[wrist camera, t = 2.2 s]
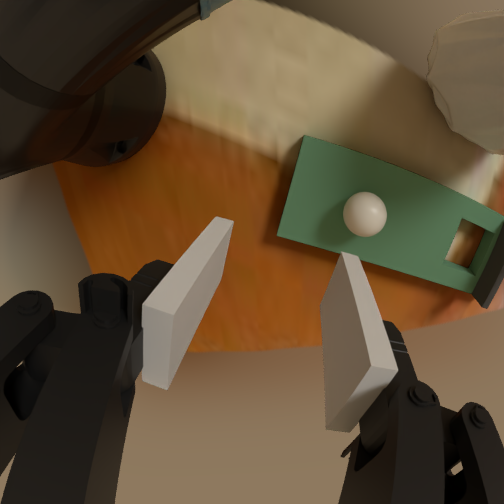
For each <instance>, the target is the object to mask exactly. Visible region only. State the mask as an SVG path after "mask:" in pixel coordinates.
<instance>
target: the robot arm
mask: <svg viewBox="0 0 504 504" xmlns="http://www.w3.org/2000/svg"><path fill="white" fill-rule="evenodd" d="M230 1H232V0H0V179H3V178H6V177H9V176H12V175H15V174H18V173H21V172H24V171H27V170H30V169H33V168H36V167H40V166H43V165H46V164H49V163H53V162H56V161H60V160H64V161H68V162H72V163H77V164H81V165H85V166H90V167H101V166H106V165H110V164H114V163H117V162H121V161H123V160H125V159H127V158H129V157H131V156H133V155H134V154H135V153H137V152H138V151H139V150H140V149H141V148H142V147H143V146H144V145H145V144H146V143H147V142H148V140H149V139H150V138H151V136H152V135H153V133H154V132H155V130H156V128H157V126H158V124H159V122H160V119H161V116H162V113H163V110H164V105H165V98H166V82H165V76H164V72H163V69H162V66H161V64H160V62H159V60H158V58H157V57H156V55H155V54H154V53H153V52H152V51H151V49H153V48H154V47H155V46H157V45H158V44H160V43H161V42H163V41H164V40H166V39H167V38H169V37H170V36H172V35H174V34H175V33H177V32H178V31H180V30H182V29H183V28H185V27H186V26H188V25H190V24H192V23H193V22H195V21H197V20H199V19H200V20H201V21H202V20H204V19H206V18H208V17H209V16H210V13H211V12H213V11H214V10H216V9H218V8H219V7H221V6H223V5H225V4H226V3H228V2H230ZM233 223H234V221H231V220H228V219H224V218H220V217H215V218H214V219H213V220H212V222H211V223H210V224H209V225H208V226H207V227H206V228H205V230H204V231H203V232H202V233H201V234H200V235H199V237H198V238H197V239H196V240H195V241H194V242H193V244H192V245H191V246H190V247H189V248H188V249H187V251H186V252H185V253H184V254H183V255H182V257H181V258H180V259H179V260H178V261H177V263H176V264H175V265H174V264H170V263H167V262H164V261H161V260H155V261H153V262H150V263H148V264H145V265H144V266H143V267H142V268H141V269H140V270H139V271H138V273H137V274H135V275H134V276H133V277H132V278H131V281H130V280H129V281H128V280H126V279H125V278H123V277H121V276H118V275H115V274H108V273H100V274H93V275H90V276H88V277H85V278H84V279H83V280H81V281H80V282H79V283H78V287H79V298H80V307H81V314H76V313H68V312H63V311H57V310H54V307H53V302H52V300H51V298H50V297H49V296H48V295H47V294H45V293H43V292H40V291H25V292H21V293H19V294H17V295H15V296H14V297H12V298H11V299H10V300H9V301H7V302H6V303H5V304H3V305H2V306H1V307H0V476H1V474H2V473H3V471H4V470H5V468H6V467H7V465H8V463H9V462H10V461H11V459H12V458H13V456H14V455H15V453H16V455H15V458H14V460H13V464H12V466H11V470H10V473H9V476H8V479H7V483H6V486H5V490H4V493H3V497H2V501H1V504H115V496H116V490H117V483H118V477H119V470H120V464H121V459H122V453H123V448H124V443H125V437H126V432H127V427H128V422H129V418H130V413H131V408H132V403H133V399H134V395H135V380H136V378H137V377H138V375H139V373H140V372H141V370H142V381H144V382H147V383H149V384H152V385H154V386H157V387H160V388H163V389H165V390H168V388H169V386H170V384H171V382H172V379H173V377H174V375H175V373H176V371H177V369H178V367H179V365H180V363H181V361H182V358H183V356H184V354H185V352H186V350H187V348H188V346H189V344H190V342H191V340H192V338H193V336H194V334H195V331H196V329H197V327H198V325H199V323H200V321H201V319H202V317H203V315H204V313H205V311H206V309H207V307H208V305H209V303H210V301H211V299H212V297H213V295H214V292H215V290H216V288H217V286H218V284H219V282H220V280H221V278H222V273H223V268H224V264H225V259H226V255H227V250H228V246H229V241H230V236H231V232H232V228H233ZM320 314H321V328H322V343H323V361H324V381H325V414H326V415H325V417H326V430H333V431H342V432H351V430H352V429H353V428H354V427H355V426H356V425H357V423H358V422H359V425H360V434H359V435H358V436H357V437H356V438H355V440H353V442H352V443H351V444H350V445H349V446H348V447H347V448H346V449H345V450H344V451H343V453H342V455H341V457H345V456H346V455H347V454H348V453H349V452H350V451H351V453H350V457H349V463H348V467H347V472H346V476H345V480H344V484H343V488H342V492H341V496H340V500H339V503H338V504H504V447H503V444H502V442H501V439H500V436H499V434H498V431H497V430H496V427H495V424H494V422H493V419H492V417H491V416H490V414H489V412H488V411H487V410H486V409H485V408H484V407H483V406H481V405H479V404H477V403H474V402H469V403H466V404H465V405H464V406H463V407H462V408H461V409H460V411H459V412H455V411H452V410H450V409H447V408H445V407H442V406H440V402H439V399H438V396H437V395H436V393H435V392H434V391H433V389H431V388H430V387H429V386H428V385H427V384H425V383H423V382H421V381H418V380H417V377H416V374H415V371H414V368H413V365H412V362H411V359H410V357H409V354H408V353H407V348H406V346H405V345H404V340H403V338H402V335H401V333H400V331H399V330H398V329H397V328H396V326H395V325H394V324H393V323H392V322H389V321H385V320H382V318H381V315H380V313H379V310H378V307H377V304H376V301H375V299H374V296H373V293H372V291H371V288H370V285H369V283H368V280H367V277H366V275H365V272H364V270H363V267H362V265H361V262H360V260H359V257H358V256H356V255H352V254H349V253H345V252H342V251H341V254H340V256H339V259H338V261H337V264H336V267H335V269H334V272H333V274H332V277H331V279H330V282H329V284H328V287H327V289H326V292H325V294H324V297H323V299H322V302H321V304H320ZM22 361H23V363H22V364H21V365H20V366H18V365H19V364H20V363H21V362H22ZM17 366H18V367H17ZM459 462H461V463H462V466H463V470H461V471H460V472H459V473H457V474H456V475H453V474H452V472H451V469H452V468H453V467H454V466H455V465H457V464H458V463H459Z"/></svg>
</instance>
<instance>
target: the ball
mask: <svg viewBox="0 0 504 504" xmlns="http://www.w3.org/2000/svg"><path fill="white" fill-rule="evenodd" d="M343 218H344V222H345V224H346V226H347V227H348V229H349V230H350V231H351V232H352V233H354V234H356V235H358V236H361V237H370V236H373V235H375V234H377V233H378V232H380V231H381V230H382V228H383V227H384V225H385V223H386V219H387V211H386V207H385V205H384V203H383V201H382V200H381V199H380V198H379V197H378V196H376V195H375V194H373V193H370V192H359V193H356V194H354V195H353V196H351V197H350V198H349V199H348V200H347V202H346V204H345V206H344V210H343Z"/></svg>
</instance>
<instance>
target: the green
mask: <svg viewBox="0 0 504 504" xmlns="http://www.w3.org/2000/svg"><path fill="white" fill-rule="evenodd" d="M359 192H370V193H373V194H375V195H376V196H378V197H379V198H380V199H381V200H382V201H383V203H384V205H385V207H386V211H387V219H386V223H385V225H384V227H383V228H382V230H381V231H380V232H378V233H377V234H375V235H373V236H370V237H361V236H358V235H356V234H354V233H352V232H351V231H350V230H349V229H348V227H347V226H346V224H345V222H344V218H343V210H344V206H345V204H346V202H347V200H348V199H349V198H350V197H351V196H353V195H354V194H356V193H359ZM462 218H463V219H465V220H468V221H470V222H472V223H474V224H476V225H478V226H480V227H482V228H485V229H486V230H485V232H484V235H483V237H482V240H481V242H480V244H479V247H478V249H477V251H476V253H475V256H474V258H473V260H472V262H471V264H470V266H469V269H468V268H466V267H463V266H460V265H458V264H455V263H452V262H449V261H447V260H444V259H445V257H446V255H447V253H448V251H449V248H450V246H451V244H452V241H453V239H454V237H455V234H456V232H457V229H458V227H459V224H460V222H461V219H462ZM277 236H280V237H283V238H287V239H290V240H294V241H297V242H301V243H304V244H308V245H311V246H315V247H318V248H322V249H325V250H329V251H332V252H336V253H339V254H341V251H342V252H345V253H349V254H352V255H356V256H358V257H359V259H360V260H363V261H366V262H370V263H373V264H377V265H380V266H383V267H387V268H390V269H393V270H397V271H400V272H403V273H406V274H410V275H413V276H416V277H419V278H423V279H426V280H429V281H432V282H435V283H439V284H442V285H445V286H448V287H451V288H455V289H458V290H461V291H464V292H467V293H470V294H472V295H473V297H474V298H475V299H476V300H477V302H478V303H479V304H480V305H481V307H483V308H486V309H487V308H488V306H489V305H490V303H491V301H492V299H493V297H494V296H495V294H496V292H497V290H498V288H499V286H500V284H501V282H502V280H503V278H504V216H503V215H501V214H499V213H497V212H495V211H493V210H492V209H490V208H488V207H486V206H484V205H482V204H480V203H478V202H476V201H474V200H472V199H470V198H468V197H466V196H464V195H462V194H460V193H458V192H456V191H454V190H452V189H449V188H447V187H445V186H443V185H441V184H439V183H436V182H434V181H432V180H429V179H427V178H425V177H422V176H420V175H418V174H415V173H413V172H410V171H408V170H406V169H403V168H401V167H398V166H395V165H393V164H390V163H388V162H385V161H382V160H380V159H377V158H374V157H371V156H369V155H366V154H363V153H360V152H357V151H354V150H351V149H348V148H345V147H342V146H339V145H336V144H333V143H329V142H326V141H323V140H320V139H316V138H313V137H309V136H306V135H304V137H303V141H302V144H301V148H300V152H299V155H298V159H297V163H296V166H295V170H294V174H293V177H292V181H291V185H290V188H289V192H288V195H287V199H286V203H285V206H284V210H283V213H282V217H281V220H280V224H279V227H278V232H277Z"/></svg>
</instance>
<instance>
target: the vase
mask: <svg viewBox="0 0 504 504" xmlns="http://www.w3.org/2000/svg"><path fill="white" fill-rule="evenodd" d="M427 60H428V65H429V72H428V74H427V76H426V77H427V82H428V84H429V86H430V87H431V89H432V90H433V94H434V100H435V104H436V106H437V107H438V108H439V109H440V111H441V112H442V113H443V115H444V116H445V119H446V122H447V124H448V126H449V128H450V129H451V130H452V131H453V132H456V133H458V134H460V135H462V136H463V137H464V138H465V139H466V140H468V141H470V142H473V143H475V144H477V145H479V146H481V147H482V148H484V149H486V150H487V151H488V152H489V153H491V154H498V155H504V10H493V11H481V12H472V13H465V14H463V15H461V16H459V17H457V18H456V19H454V20H453V21H451V22H449V23H448V24H446V25H444V26H443V27H441V28H439V29H438V30H436V32H435V34H434V40H433V46H432V48H431V50H430V53H429V55H428V58H427Z"/></svg>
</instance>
